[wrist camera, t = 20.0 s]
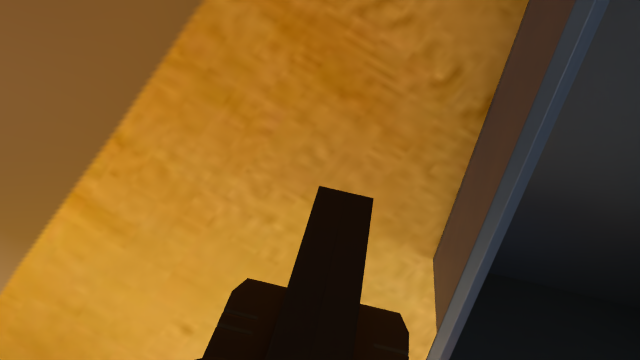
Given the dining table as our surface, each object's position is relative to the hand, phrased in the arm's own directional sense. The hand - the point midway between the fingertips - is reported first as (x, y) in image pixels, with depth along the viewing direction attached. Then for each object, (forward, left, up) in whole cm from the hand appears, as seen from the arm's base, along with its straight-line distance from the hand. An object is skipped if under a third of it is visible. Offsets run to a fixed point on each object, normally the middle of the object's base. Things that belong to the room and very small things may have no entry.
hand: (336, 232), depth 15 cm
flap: (0, -4, -1) cm, 5 cm away
